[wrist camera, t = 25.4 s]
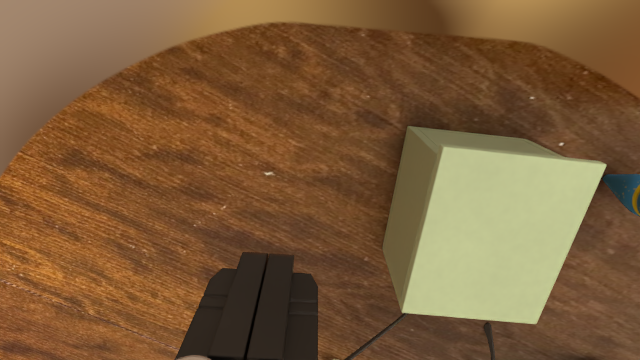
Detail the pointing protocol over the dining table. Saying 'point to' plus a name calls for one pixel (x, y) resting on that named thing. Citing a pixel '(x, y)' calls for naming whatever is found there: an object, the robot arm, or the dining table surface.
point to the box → (416, 183)
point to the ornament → (625, 189)
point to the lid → (496, 232)
